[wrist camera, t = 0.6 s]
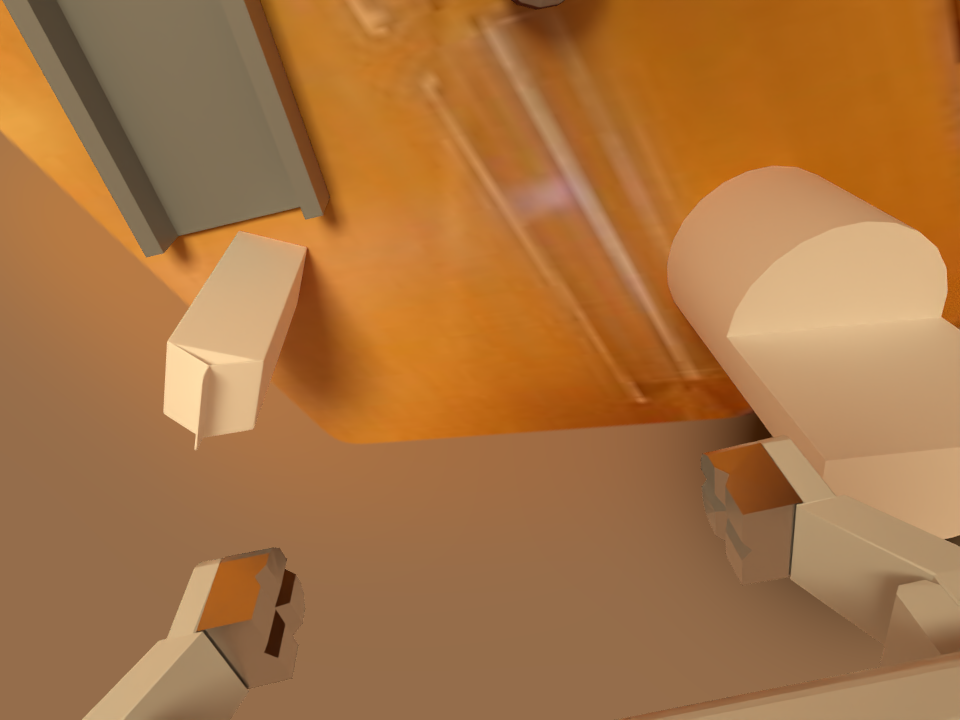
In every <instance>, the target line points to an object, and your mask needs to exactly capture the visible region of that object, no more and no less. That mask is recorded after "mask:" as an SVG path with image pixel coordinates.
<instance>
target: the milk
mask: <svg viewBox="0 0 960 720" xmlns="http://www.w3.org/2000/svg"><path fill="white" fill-rule="evenodd" d="M306 252H307V247H305V246H301V245H297V244H292V243H288V242H284V241H280V240H276V239H272V238H268V237H264V236H260V235H256V234H252V233H248V232H243V231H239V232H238V233H237V235H236V236H235V238H234V239H233V241H232V242H231V244H230V246H229V247H228V249H227V250H226V252H225V253H224V255H223V256H222V258H221V259H220V261H219V263H218V264H217V266H216V267H215V269H214V270H213V272H212V273H211V275H210V276H209V278H208V279H207V281H206V283H205V284H204V286H203V287H202V289H201V290H200V292H199V293H198V295H197V296H196V298H195V300H194V301H193V303H192V304H191V306H190V307H189V309H188V310H187V312H186V313H185V315H184V316H183V318H182V320H181V321H180V323H179V324H178V326H177V327H176V329H175V330H174V332H173V333H172V335H171V337H170V338H169V340H168V342H167V355H166V374H165V392H164V414H165V415H167V416H168V417H170V418H171V419H173V420H175V421H176V422H178V423H179V424H181V425H182V426H184V427H186V428H187V429H189V430H190V431H192V432H193V433H195V434H196V439H195V450H197V449H198V447H199V445H200V442H201V441H202V438H204V437H210V436H216V435H222V434H228V433H234V432H240V431H246V430H252V429H254V427H255V424H256V421H257V418H258V415H259V412H260V410H261V406H262V404H263V401H264V398H265V395H266V392H267V389H268V387H269V384H270V381H271V378H272V375H273V372H274V369H275V366H276V364H277V361H278V358H279V355H280V352H281V349H282V346H283V343H284V341H285V338H286V335H287V332H288V329H289V326H290V323H291V320H292V317H293V315H294V312H295V309H296V306H297V303H298V297H299V292H300V286H301V280H302V275H303V269H304V263H305V257H306Z"/></svg>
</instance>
